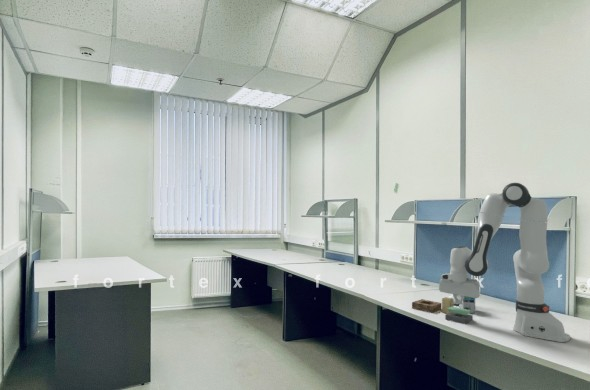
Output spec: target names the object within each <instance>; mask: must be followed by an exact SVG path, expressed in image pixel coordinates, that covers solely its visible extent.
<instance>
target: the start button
mask: <svg viewBox="0 0 590 390" xmlns="http://www.w3.org/2000/svg"><path fill="white" fill-rule="evenodd" d="M447 311H451V312H456V313H457V315H458V316H462V314H465V315H467V314H468V315H470V314H472V313H471V310H466V309H462V308H459V307H455V306H454V307H450V308H447Z"/></svg>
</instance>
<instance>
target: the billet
mask: <svg viewBox="0 0 590 390" xmlns="http://www.w3.org/2000/svg"><path fill="white" fill-rule="evenodd" d="M454 305H455V304H454V299H453V298H448V297H447V296H445V297H443V298H441V312H442V314H445V315H446V314H448V313H451V311H447V308H450V307H455V306H454Z"/></svg>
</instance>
